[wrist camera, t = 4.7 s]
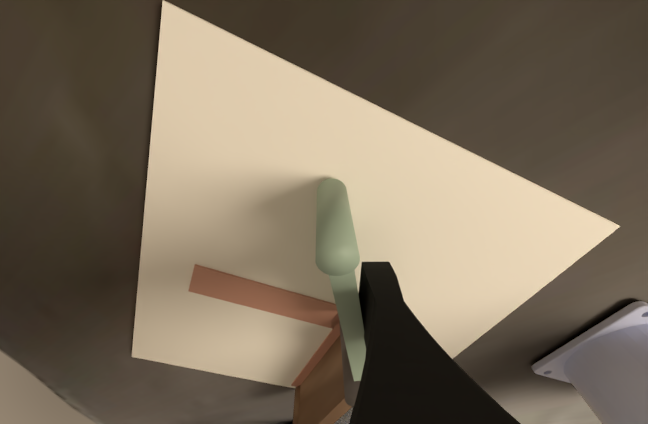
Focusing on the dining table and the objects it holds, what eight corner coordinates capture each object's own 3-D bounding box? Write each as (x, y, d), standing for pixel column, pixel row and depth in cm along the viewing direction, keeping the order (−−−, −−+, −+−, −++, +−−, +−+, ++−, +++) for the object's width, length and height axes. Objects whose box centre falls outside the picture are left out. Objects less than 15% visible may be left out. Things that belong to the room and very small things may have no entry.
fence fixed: (379, 316, 15) (396, 393, 12) (312, 393, 20) (311, 463, 16) (348, 307, 15) (357, 385, 11) (288, 388, 19) (281, 459, 16)
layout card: (613, 222, 12) (622, 227, 12) (390, 403, 22) (391, 408, 21) (168, 2, 8) (160, -1, 7) (134, 352, 17) (130, 358, 17)
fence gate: (344, 176, 10) (357, 239, 7) (364, 311, 14) (378, 391, 11) (314, 181, 10) (311, 246, 7) (343, 313, 14) (350, 394, 11)
